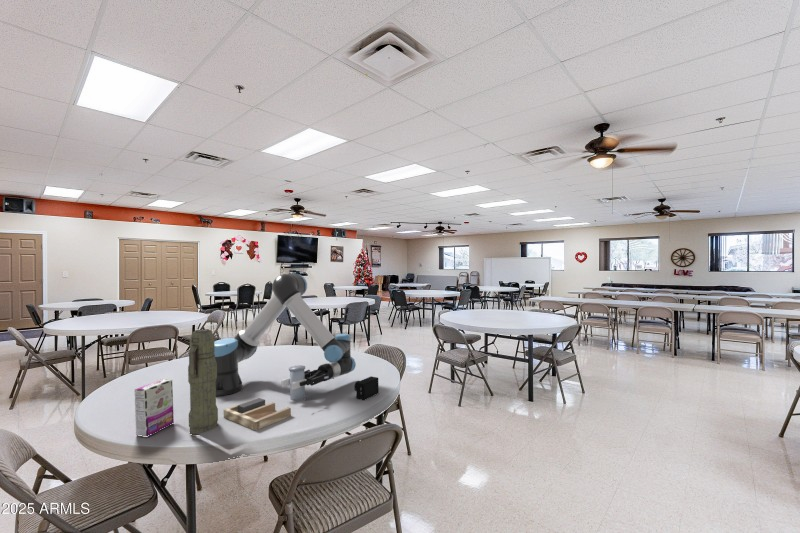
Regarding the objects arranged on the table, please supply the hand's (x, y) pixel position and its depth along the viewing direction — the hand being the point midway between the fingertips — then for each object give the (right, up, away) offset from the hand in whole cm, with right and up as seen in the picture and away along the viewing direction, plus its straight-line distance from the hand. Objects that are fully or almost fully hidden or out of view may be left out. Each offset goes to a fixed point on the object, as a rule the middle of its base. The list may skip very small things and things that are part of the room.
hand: (287, 384), depth 147 cm
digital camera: (+32, -8, +8) cm, 34 cm away
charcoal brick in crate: (-10, -7, -11) cm, 17 cm away
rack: (-7, -8, -15) cm, 18 cm away
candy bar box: (-40, -9, -22) cm, 46 cm away
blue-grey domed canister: (+3, -8, +4) cm, 9 cm away
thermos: (-22, -8, -23) cm, 33 cm away
